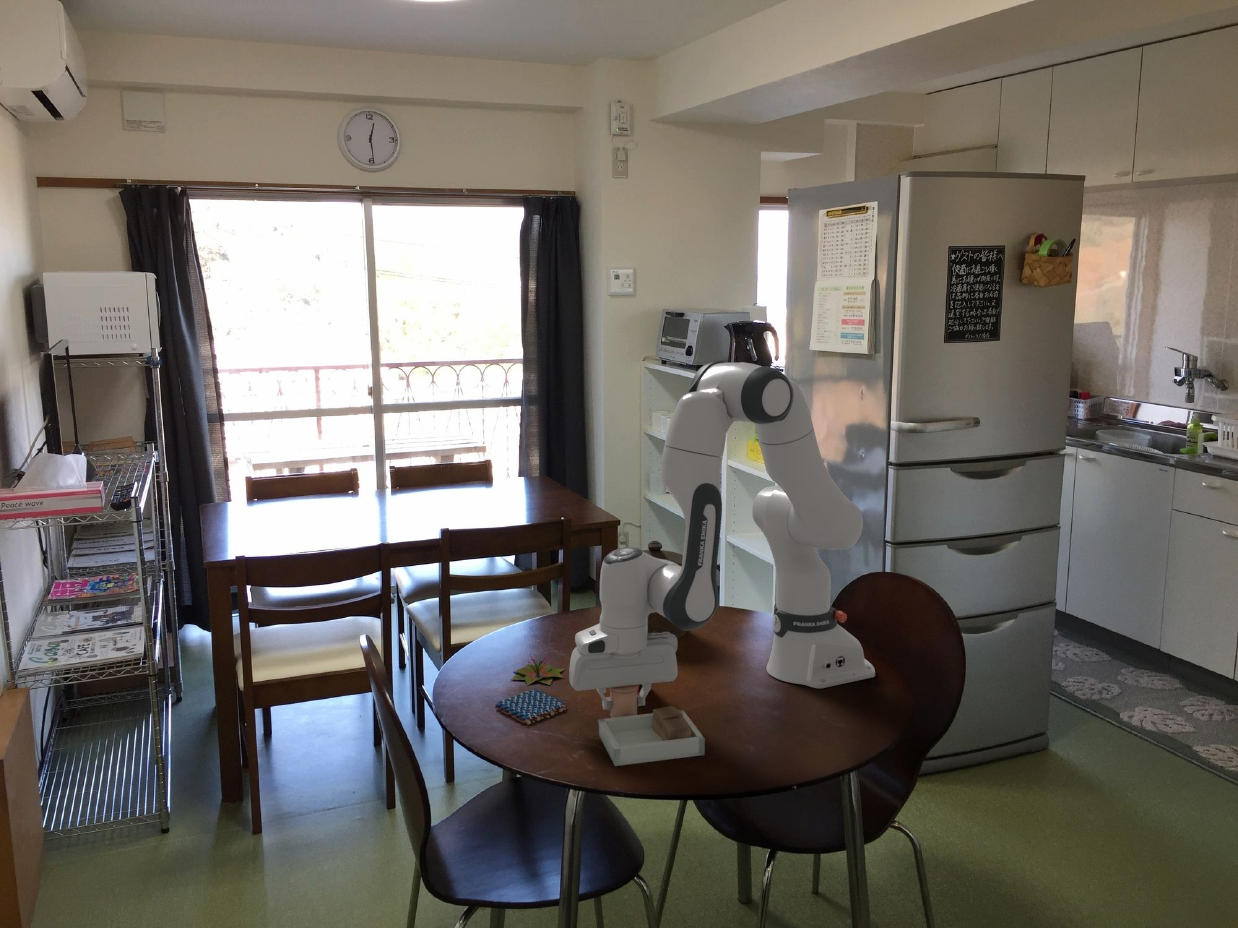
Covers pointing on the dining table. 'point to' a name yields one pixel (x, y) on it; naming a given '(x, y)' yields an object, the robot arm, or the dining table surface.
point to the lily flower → (537, 672)
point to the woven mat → (530, 706)
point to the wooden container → (656, 620)
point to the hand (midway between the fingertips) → (623, 706)
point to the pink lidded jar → (623, 701)
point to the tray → (645, 740)
